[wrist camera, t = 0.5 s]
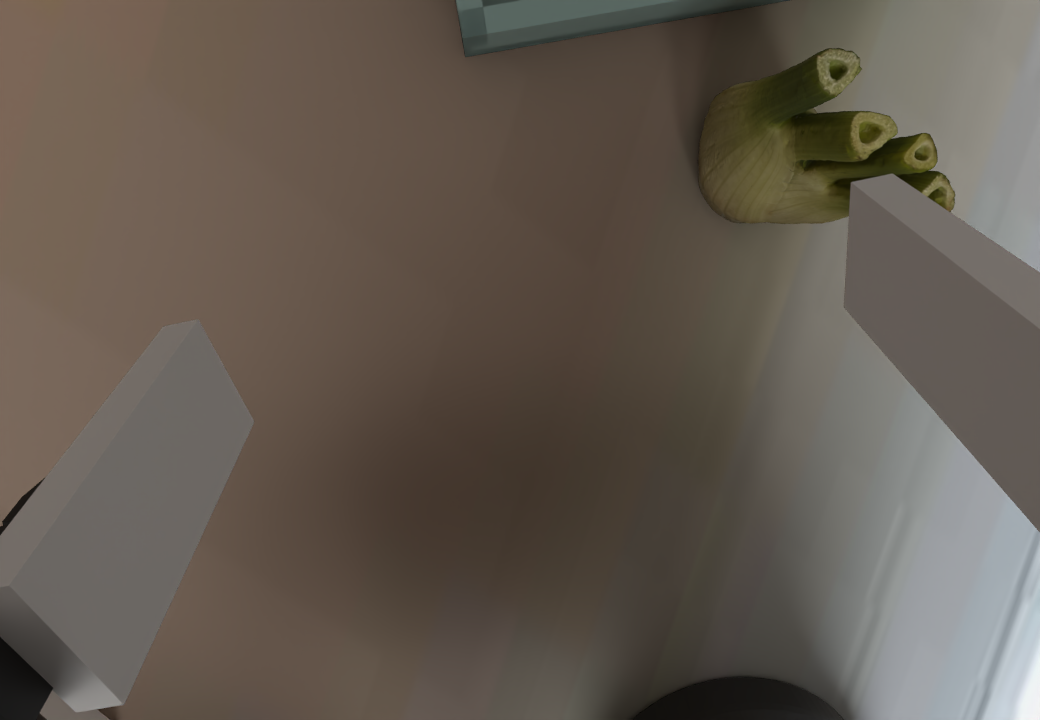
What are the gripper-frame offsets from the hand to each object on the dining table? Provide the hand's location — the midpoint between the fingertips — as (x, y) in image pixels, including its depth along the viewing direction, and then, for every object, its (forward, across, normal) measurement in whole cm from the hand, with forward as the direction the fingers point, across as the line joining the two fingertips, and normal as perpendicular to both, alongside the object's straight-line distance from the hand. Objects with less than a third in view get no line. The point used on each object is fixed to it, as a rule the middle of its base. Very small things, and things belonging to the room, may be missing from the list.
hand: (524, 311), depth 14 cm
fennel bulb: (+17, -9, +4) cm, 20 cm away
